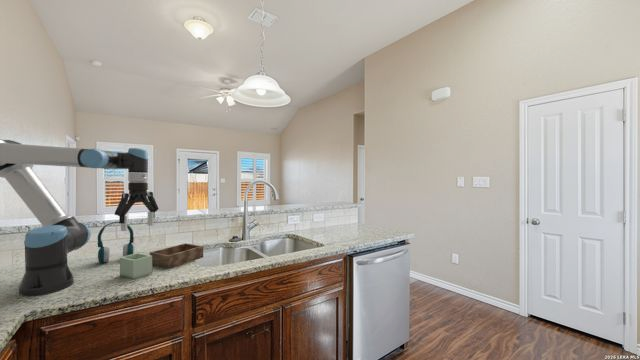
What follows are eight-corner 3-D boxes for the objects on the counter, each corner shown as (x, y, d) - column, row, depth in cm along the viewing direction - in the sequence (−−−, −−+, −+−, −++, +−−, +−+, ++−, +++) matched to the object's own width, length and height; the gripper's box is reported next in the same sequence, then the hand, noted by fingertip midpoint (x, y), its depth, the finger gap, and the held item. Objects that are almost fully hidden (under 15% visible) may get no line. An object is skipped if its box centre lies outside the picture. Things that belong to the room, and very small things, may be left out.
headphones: (98, 261, 139) (98, 222, 139) (133, 256, 148) (133, 219, 147) (96, 265, 133) (96, 224, 132) (133, 260, 141) (133, 221, 141)
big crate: (168, 268, 128) (168, 256, 128) (149, 264, 135) (149, 252, 134) (203, 257, 146) (203, 246, 146) (185, 253, 153) (185, 243, 152)
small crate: (133, 279, 115) (133, 260, 115) (119, 275, 120) (119, 257, 120) (152, 273, 123) (152, 255, 122) (138, 269, 127) (138, 252, 127)
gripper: (117, 182, 113) (117, 233, 113) (166, 181, 137) (166, 223, 137) (104, 182, 115) (104, 232, 115) (154, 181, 139) (154, 222, 139)
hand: (138, 227), depth 126 cm, fingers open, 13 cm apart
